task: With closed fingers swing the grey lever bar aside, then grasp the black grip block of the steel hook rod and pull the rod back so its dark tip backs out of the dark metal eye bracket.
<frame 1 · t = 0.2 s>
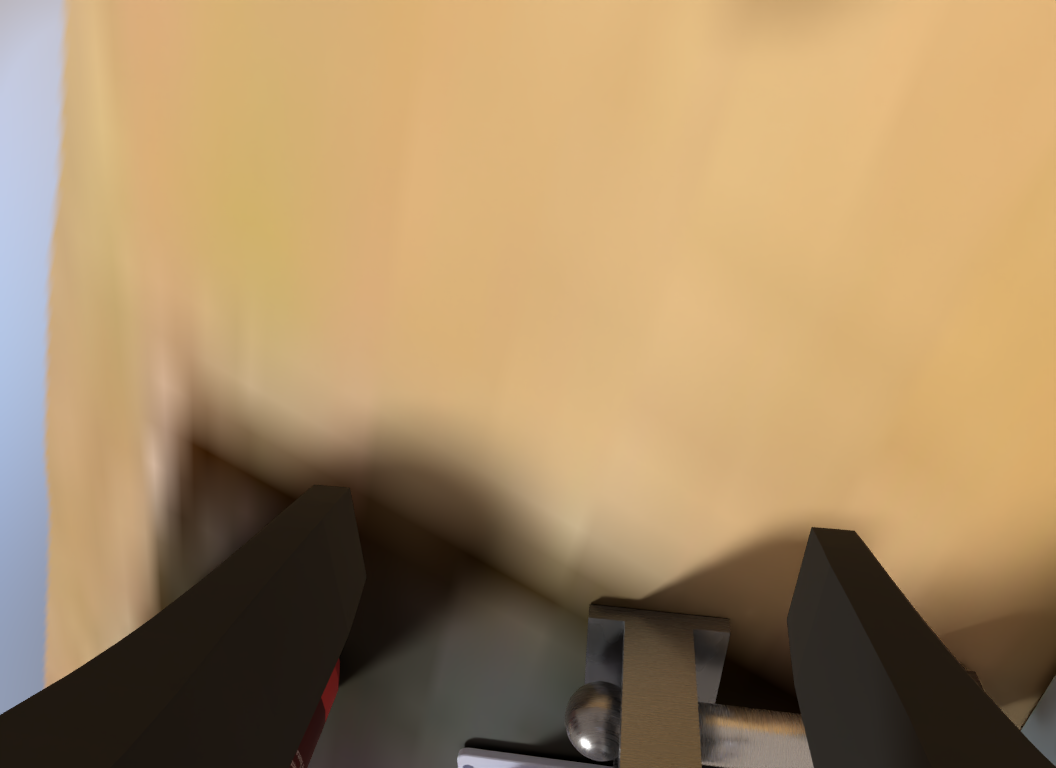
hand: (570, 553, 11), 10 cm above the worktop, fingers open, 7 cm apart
canned food: (261, 644, 31), on the worktop
eye bracket: (651, 663, 28), on the worktop
hook rod: (765, 733, 25), point 2 cm above the worktop, slide at 0.0 cm
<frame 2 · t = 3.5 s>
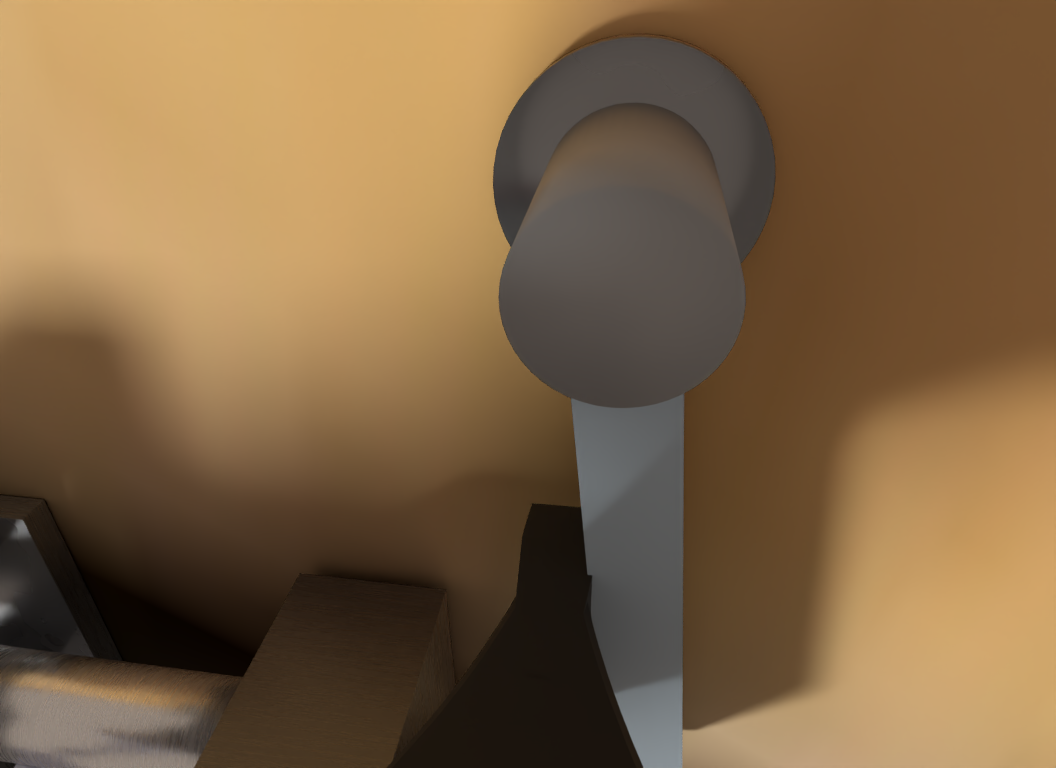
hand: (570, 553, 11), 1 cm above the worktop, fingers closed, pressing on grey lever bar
keeper base: (630, 183, 10), on the worktop
grey lever bar: (639, 599, 11), point 2 cm above the worktop, hinge at 6.1°, touching gripper
hook rod: (83, 697, 14), point 2 cm above the worktop, slide at 0.0 cm
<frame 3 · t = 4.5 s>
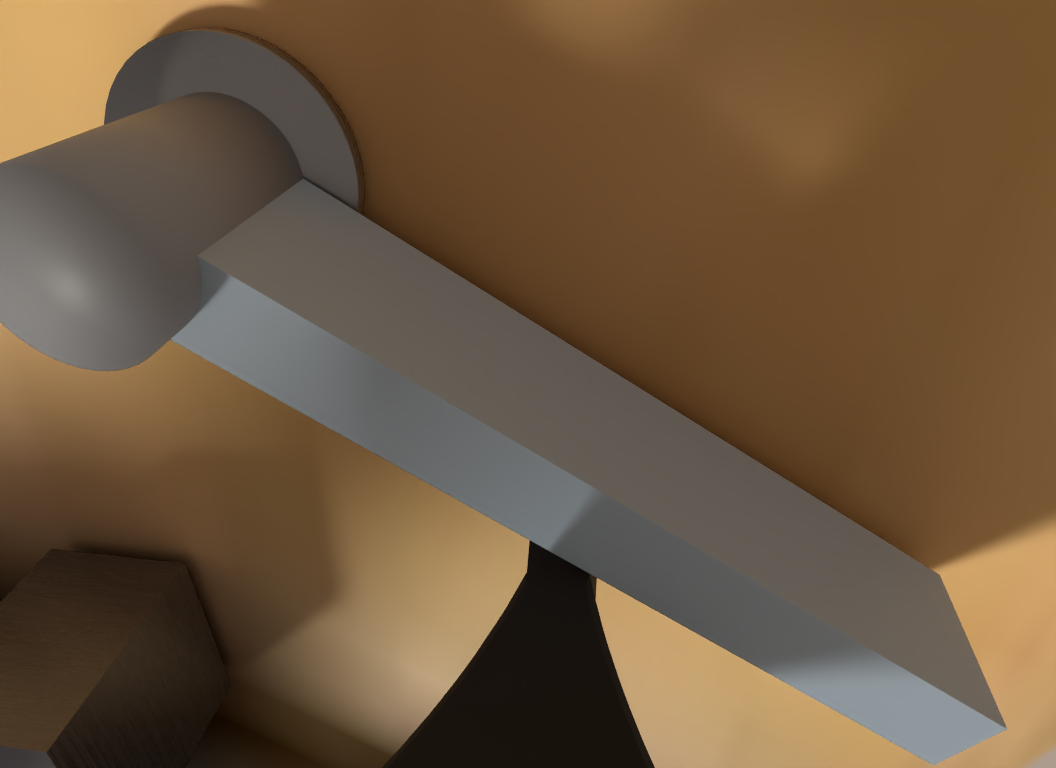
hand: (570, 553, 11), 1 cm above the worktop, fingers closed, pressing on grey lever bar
keeper base: (241, 168, 10), on the worktop
grey lever bar: (562, 456, 9), point 2 cm above the worktop, hinge at 57.8°, touching gripper
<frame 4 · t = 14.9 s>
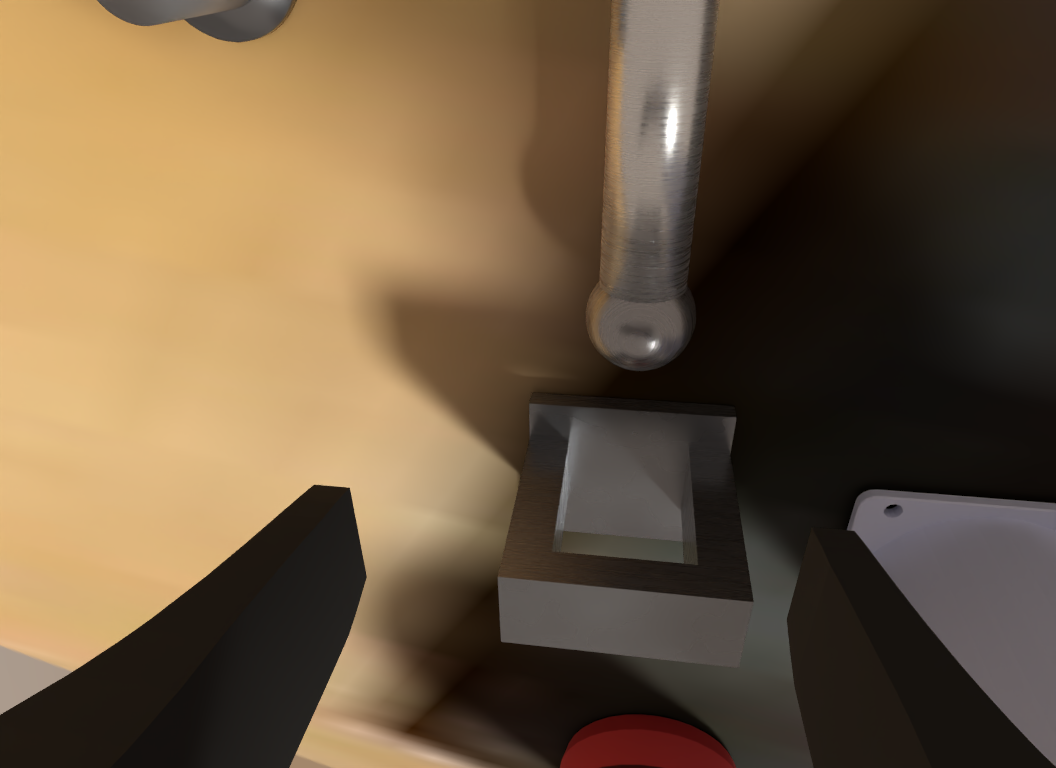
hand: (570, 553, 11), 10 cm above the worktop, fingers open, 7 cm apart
canned food: (649, 759, 32), on the worktop
eye bracket: (626, 464, 23), on the worktop
hook rod: (660, 50, 14), point 2 cm above the worktop, slide at 8.4 cm
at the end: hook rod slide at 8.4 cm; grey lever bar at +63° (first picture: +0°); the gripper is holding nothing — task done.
